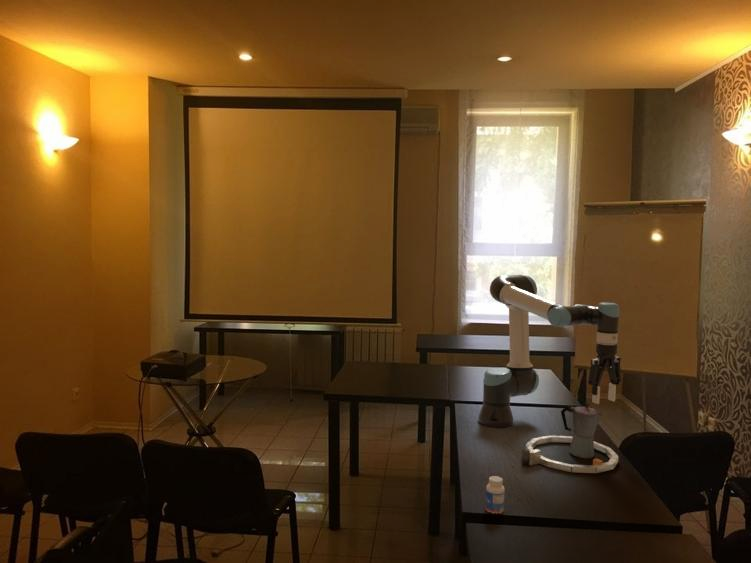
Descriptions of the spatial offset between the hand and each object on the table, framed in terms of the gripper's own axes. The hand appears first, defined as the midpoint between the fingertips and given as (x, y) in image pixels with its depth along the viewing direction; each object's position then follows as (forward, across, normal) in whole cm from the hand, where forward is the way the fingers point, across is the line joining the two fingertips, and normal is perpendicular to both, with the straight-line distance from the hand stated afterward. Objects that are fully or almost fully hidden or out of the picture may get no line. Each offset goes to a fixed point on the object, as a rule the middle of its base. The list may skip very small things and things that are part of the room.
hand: (603, 401), depth 227 cm
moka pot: (+19, -11, 0) cm, 22 cm away
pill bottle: (+19, -70, -22) cm, 76 cm away
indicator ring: (+19, -20, 0) cm, 27 cm away
